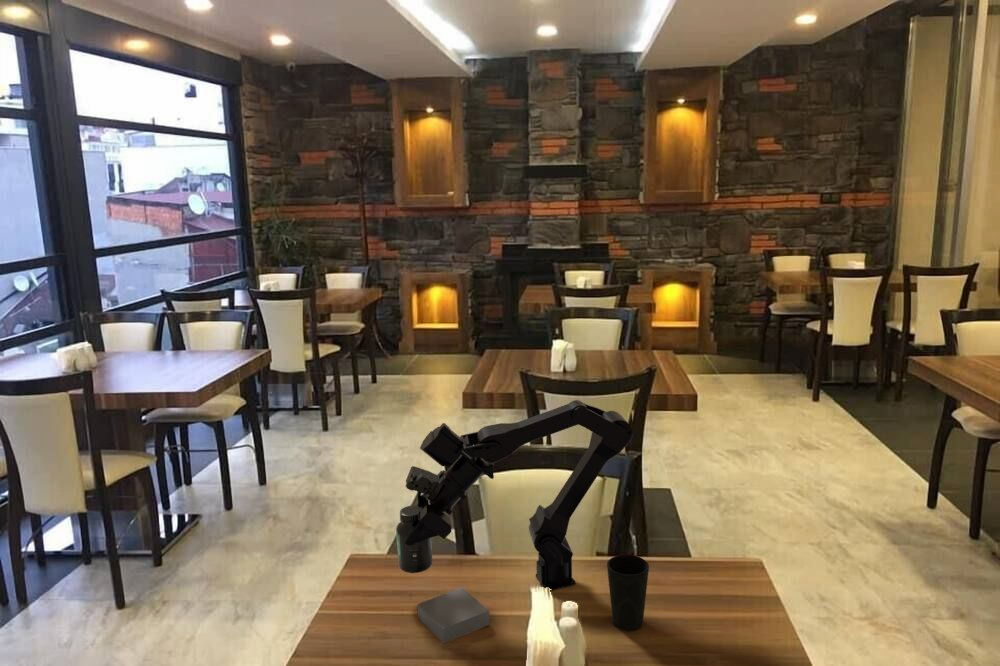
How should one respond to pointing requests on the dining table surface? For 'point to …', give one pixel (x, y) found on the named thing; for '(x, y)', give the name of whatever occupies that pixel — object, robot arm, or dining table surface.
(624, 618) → the cup
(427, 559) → the supplement bottle
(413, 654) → the dining table surface
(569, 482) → the robot arm
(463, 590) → the plinth
